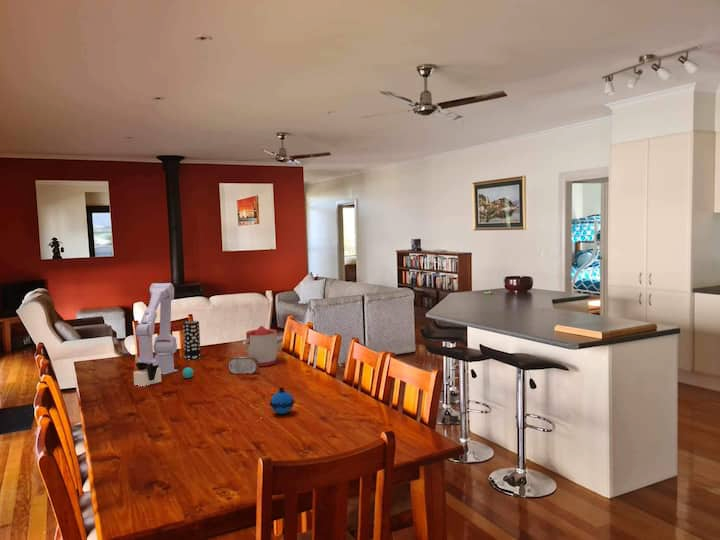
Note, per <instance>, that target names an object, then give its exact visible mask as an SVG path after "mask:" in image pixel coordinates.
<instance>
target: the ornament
mask: <svg viewBox="0 0 720 540" xmlns="http://www.w3.org/2000/svg"><path fill="white" fill-rule="evenodd" d="M294 403H295V402H294V398H293V396H292V395H291V394H290V393H289V392H288V391H285V389H284V387H283V386H281V387H279V391H277V392H275V393H274V394H273V396H272V397H271V399H270V402H269V406H270V407H271V409H272V411H273V412H275V413H276V414H278V415H284V414H285V415H286V414H288V413H289V412H290V411H291V410H292V408H293V406H294Z"/></svg>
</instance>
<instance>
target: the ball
mask: <svg viewBox="0 0 720 540" xmlns="http://www.w3.org/2000/svg"><path fill="white" fill-rule="evenodd" d="M182 376H183V377H184V378H185V379H190V378H192V377H193V376H194V369H193V368H192V367H189V366H188V367H185V368H184V369H183V370H182Z"/></svg>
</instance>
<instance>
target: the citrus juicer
mask: <svg viewBox="0 0 720 540" xmlns="http://www.w3.org/2000/svg"><path fill="white" fill-rule="evenodd" d="M277 332H278V330H277V329H275V328H274V329H272V328H265V326H263V325H260V326H259V327H258V328H256V329H252V330H247V331H246V334H245V335H246V338H245V339H244V340H243V343H242V344H243V345H246V348H247V356H251V357H254V358H256V359H257V360H258V362H259V366H260V367H268V366H272V365H271V364H273V365H274V364H275V362H276V360H277V356H278V355H277V353H278V339H277V338H278V336H277V335H278V333H277Z"/></svg>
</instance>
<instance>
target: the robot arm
mask: <svg viewBox="0 0 720 540" xmlns="http://www.w3.org/2000/svg"><path fill="white" fill-rule="evenodd" d="M149 294H150V300H149V303H148V307H147V309H146V310H144V312H143V315H142V318H141V320H140V323H139V324H137V325H136V327H135V335H136V339H137V340H138V348H139V349H138V350H139V351H138V352H139V356H138V357H135V362H137V363H134V364H135V367H136V369H137V371H140V370H144V369H147V372H148V377H149V380H150V381H151V380H154V378H155V374H156V370H157V368H159V369H161V375H167V374H171V373H174V372H175V373H176V372H178V371H179V370H178V369H175V362H174V361H175V358H174V357H175V356H174V354H175V353H176V352H177V349H178V343H177V337H175V336H174V335H172V334H171V327H172V326H171V325H172V324H171V323H172V322H171V320H172V319H171V317H172V301H173V300H174V299H175V287H174V284H173V283H171V282H165V283H164V282H163V283H162V282H161V283H160V282H159V283H158V282H152V283H151V285H150V287H149ZM158 307H160V308H159V309H160V311H159V313H160V314H159V315H160V316H159V318H160V319H159V334H158V335H157V336H156V337H155V338H154V341H153V335H154V334H155V322H156V319H157V316H158V313H157V310H158ZM154 353H155V356H154Z"/></svg>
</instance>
